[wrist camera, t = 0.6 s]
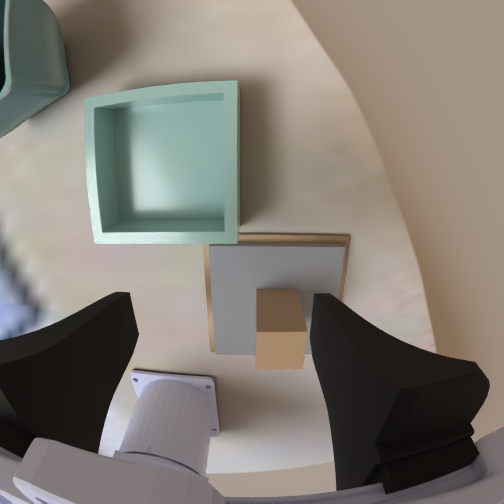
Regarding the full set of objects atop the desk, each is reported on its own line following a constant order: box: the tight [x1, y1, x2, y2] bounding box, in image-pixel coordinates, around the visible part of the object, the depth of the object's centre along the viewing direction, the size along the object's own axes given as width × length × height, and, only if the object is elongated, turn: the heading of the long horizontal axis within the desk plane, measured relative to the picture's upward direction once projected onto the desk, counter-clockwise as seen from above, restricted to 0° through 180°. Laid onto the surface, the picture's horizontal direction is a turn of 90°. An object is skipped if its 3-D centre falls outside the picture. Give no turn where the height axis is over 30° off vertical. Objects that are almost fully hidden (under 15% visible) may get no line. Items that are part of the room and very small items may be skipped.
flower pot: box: [0, 0, 70, 138], centre depth 12 cm, size 9×9×9 cm
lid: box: [209, 242, 345, 369], centre depth 19 cm, size 9×9×6 cm
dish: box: [84, 80, 240, 244], centre depth 17 cm, size 9×9×4 cm
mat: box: [203, 234, 350, 352], centre depth 22 cm, size 10×10×1 cm
